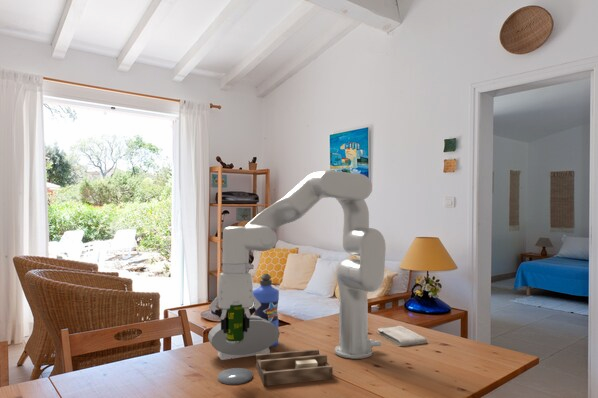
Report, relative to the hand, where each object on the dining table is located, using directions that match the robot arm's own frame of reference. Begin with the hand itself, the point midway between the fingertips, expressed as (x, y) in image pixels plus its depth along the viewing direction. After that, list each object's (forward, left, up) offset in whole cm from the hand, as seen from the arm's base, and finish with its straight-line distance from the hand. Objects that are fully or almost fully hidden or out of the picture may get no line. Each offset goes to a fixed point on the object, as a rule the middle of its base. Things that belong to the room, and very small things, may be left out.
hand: (235, 330), depth 126 cm
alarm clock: (-5, -19, -14) cm, 24 cm away
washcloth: (-64, -22, -14) cm, 69 cm away
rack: (-17, +1, -13) cm, 22 cm away
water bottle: (-14, -28, -14) cm, 34 cm away
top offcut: (-20, +5, -11) cm, 24 cm away
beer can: (0, 0, -3) cm, 3 cm away
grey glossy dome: (0, 0, -13) cm, 13 cm away
